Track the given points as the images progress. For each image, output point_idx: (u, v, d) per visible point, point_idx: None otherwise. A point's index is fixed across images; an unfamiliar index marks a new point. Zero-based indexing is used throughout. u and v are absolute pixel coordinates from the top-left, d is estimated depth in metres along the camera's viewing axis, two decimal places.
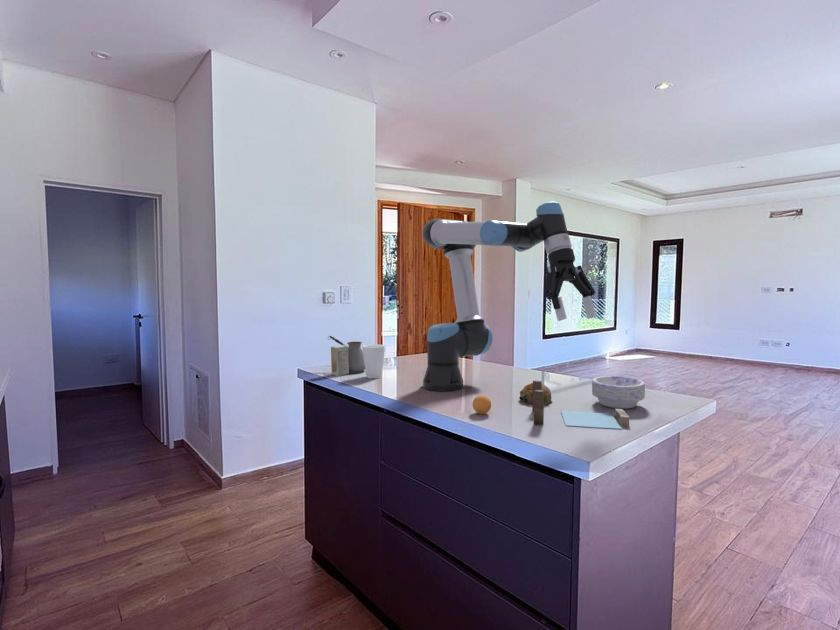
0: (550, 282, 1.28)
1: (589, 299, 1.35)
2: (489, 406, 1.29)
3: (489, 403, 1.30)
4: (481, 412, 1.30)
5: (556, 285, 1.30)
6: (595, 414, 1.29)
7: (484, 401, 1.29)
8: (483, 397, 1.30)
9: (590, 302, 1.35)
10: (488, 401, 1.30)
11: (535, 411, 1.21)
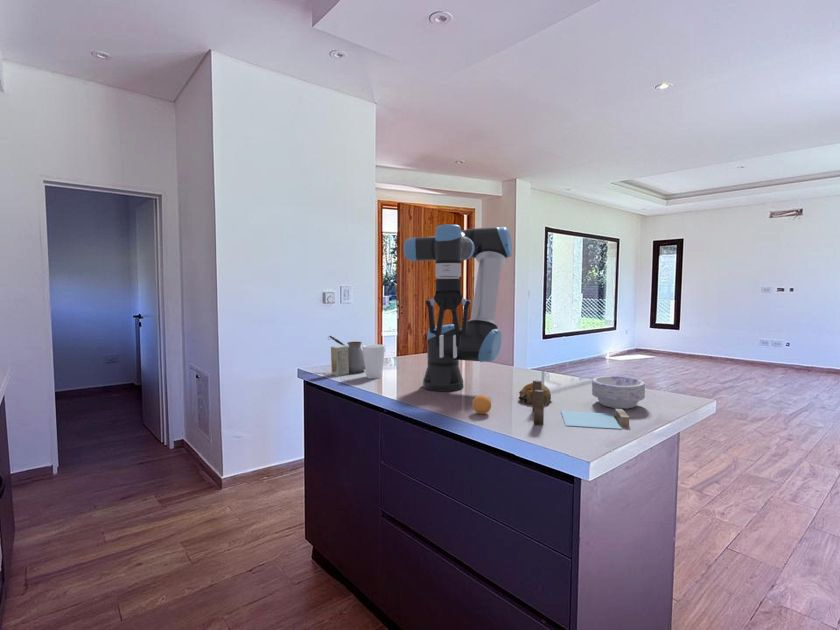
0: None
1: (453, 339, 1.31)
2: (489, 406, 1.29)
3: (489, 403, 1.30)
4: (481, 412, 1.30)
5: (438, 321, 1.32)
6: (595, 414, 1.29)
7: (484, 401, 1.29)
8: (483, 397, 1.30)
9: None
10: (488, 401, 1.30)
11: (535, 411, 1.21)
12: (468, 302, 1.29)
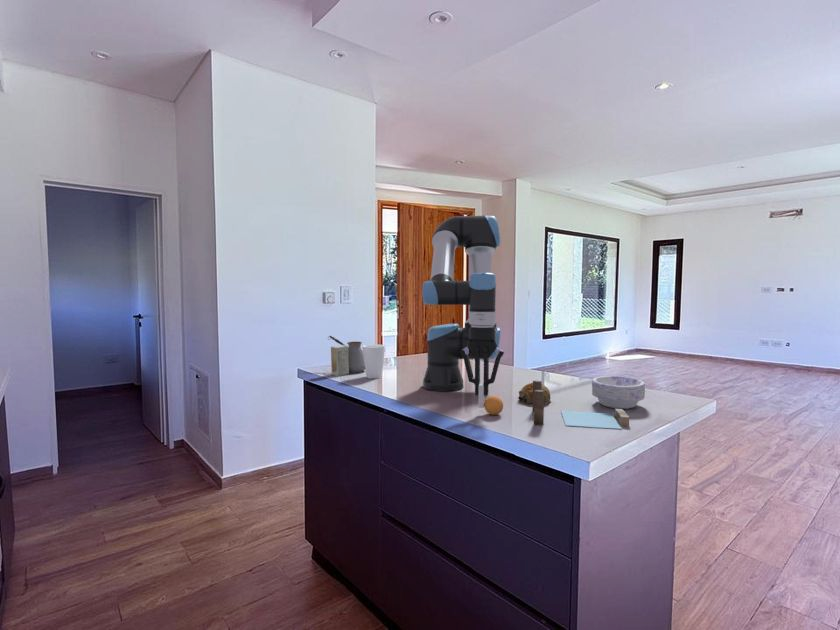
0: None
1: None
2: (498, 413, 1.29)
3: (500, 411, 1.29)
4: (488, 411, 1.29)
5: None
6: (595, 414, 1.29)
7: (499, 408, 1.28)
8: (501, 404, 1.29)
9: None
10: (501, 410, 1.29)
11: (535, 411, 1.21)
12: (501, 353, 1.27)
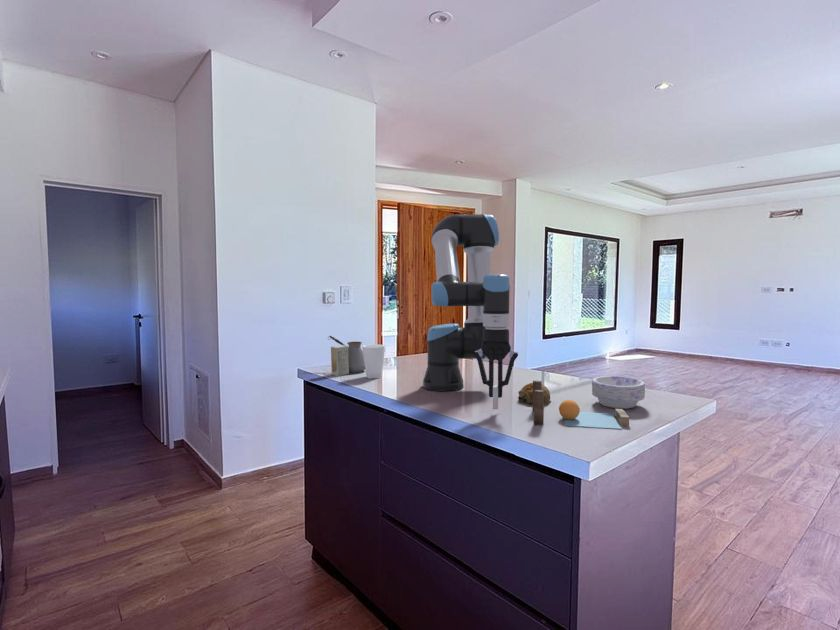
0: (480, 372, 1.30)
1: None
2: (563, 417, 1.24)
3: (565, 418, 1.25)
4: (564, 407, 1.24)
5: (489, 371, 1.30)
6: (595, 414, 1.29)
7: (570, 418, 1.23)
8: (574, 418, 1.24)
9: None
10: (567, 419, 1.25)
11: (535, 411, 1.21)
12: (516, 355, 1.27)
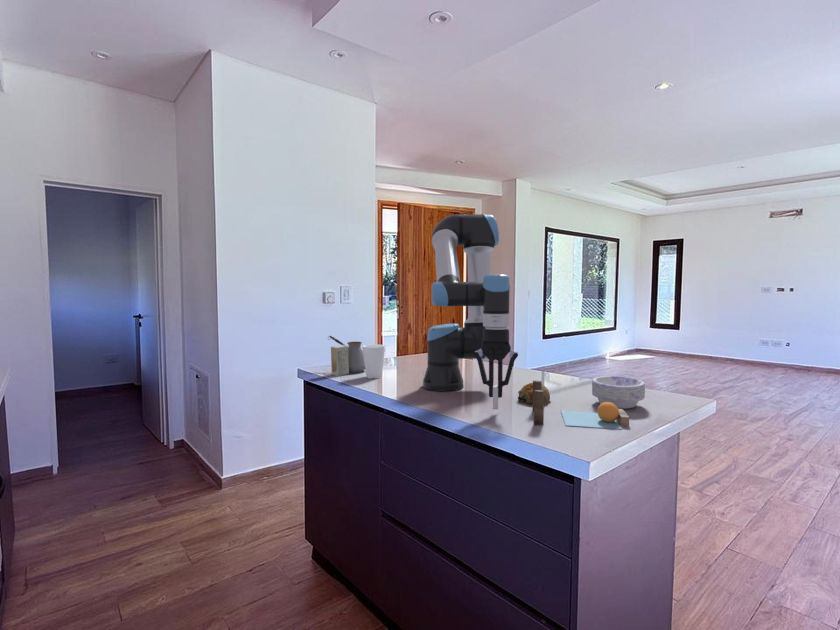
0: (480, 372, 1.30)
1: None
2: (617, 411, 1.21)
3: (617, 409, 1.21)
4: (611, 420, 1.21)
5: (489, 371, 1.30)
6: (595, 414, 1.29)
7: (612, 408, 1.21)
8: (609, 404, 1.22)
9: None
10: (615, 407, 1.21)
11: (535, 411, 1.21)
12: (516, 355, 1.27)
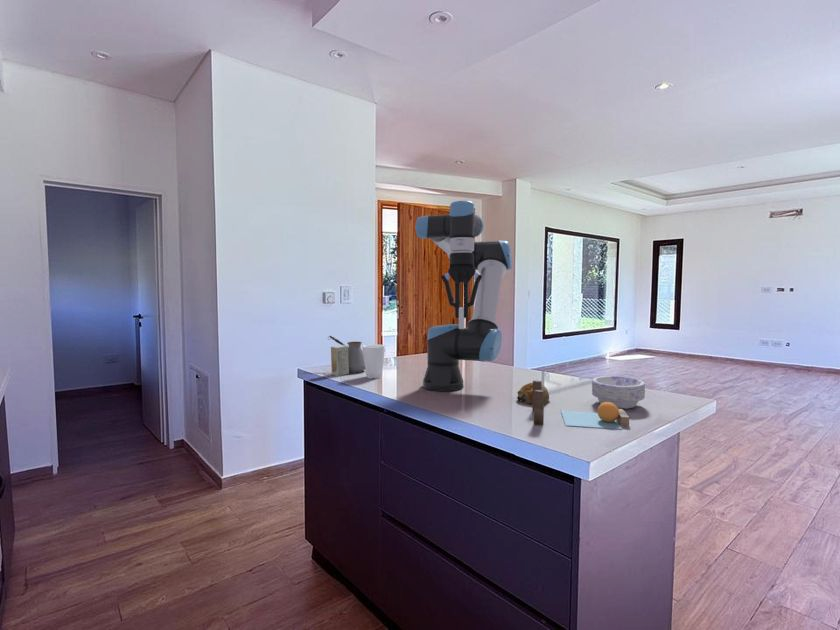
0: (447, 294, 1.39)
1: None
2: (617, 411, 1.21)
3: (617, 409, 1.21)
4: (611, 420, 1.21)
5: None
6: (595, 414, 1.29)
7: (612, 408, 1.21)
8: (609, 404, 1.22)
9: None
10: (615, 407, 1.21)
11: (535, 411, 1.21)
12: (480, 276, 1.36)
